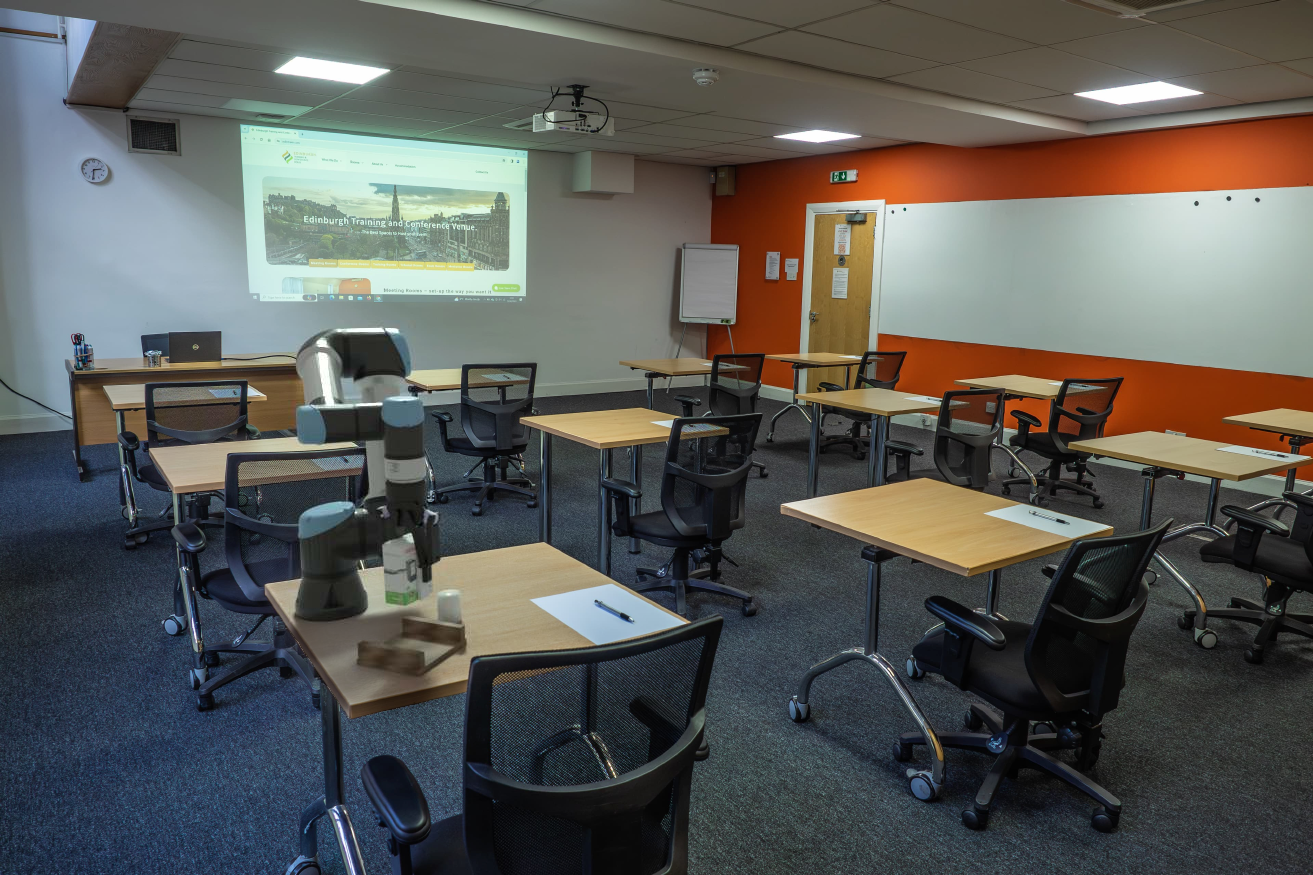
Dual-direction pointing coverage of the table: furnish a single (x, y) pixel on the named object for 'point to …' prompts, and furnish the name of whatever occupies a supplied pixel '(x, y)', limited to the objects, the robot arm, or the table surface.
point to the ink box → (401, 571)
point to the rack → (413, 646)
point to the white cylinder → (449, 606)
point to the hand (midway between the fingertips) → (410, 595)
